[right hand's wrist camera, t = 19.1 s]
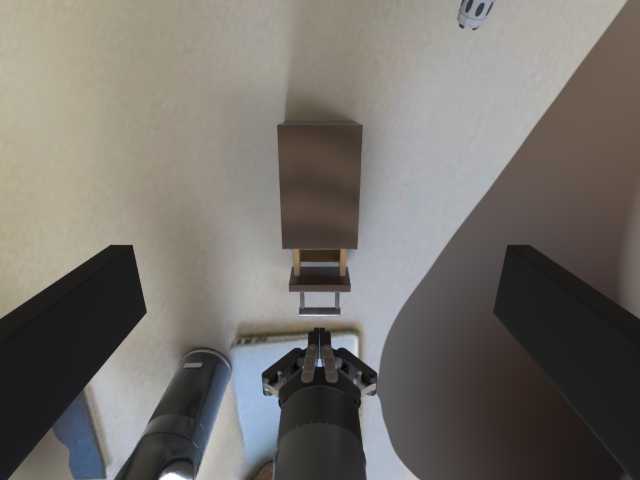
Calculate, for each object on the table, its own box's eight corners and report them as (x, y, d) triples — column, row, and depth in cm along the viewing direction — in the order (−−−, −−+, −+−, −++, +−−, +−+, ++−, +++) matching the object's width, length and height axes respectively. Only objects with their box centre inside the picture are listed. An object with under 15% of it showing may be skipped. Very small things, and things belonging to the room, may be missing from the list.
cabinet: (352, 229, 54) (357, 249, 47) (287, 229, 54) (282, 249, 47) (356, 121, 49) (362, 125, 41) (283, 121, 49) (277, 125, 41)
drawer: (346, 303, 58) (349, 324, 53) (293, 303, 58) (290, 324, 53) (350, 182, 51) (354, 192, 45) (289, 182, 51) (285, 192, 45)
